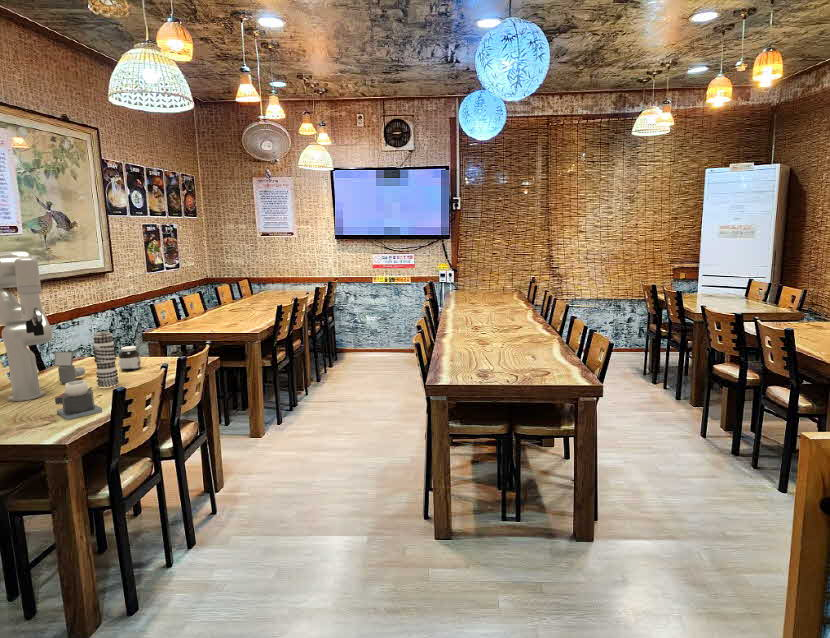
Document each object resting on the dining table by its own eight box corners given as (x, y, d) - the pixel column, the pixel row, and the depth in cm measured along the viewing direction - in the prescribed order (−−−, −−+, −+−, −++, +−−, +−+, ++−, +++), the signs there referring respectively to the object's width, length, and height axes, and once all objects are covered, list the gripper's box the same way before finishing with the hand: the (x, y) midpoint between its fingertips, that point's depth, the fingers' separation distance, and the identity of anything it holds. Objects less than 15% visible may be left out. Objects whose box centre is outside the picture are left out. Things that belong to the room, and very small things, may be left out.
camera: (90, 377, 268) (86, 347, 265) (73, 384, 256) (69, 352, 254) (73, 377, 269) (69, 347, 266) (55, 384, 257) (51, 352, 255)
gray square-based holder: (57, 413, 214) (54, 394, 213) (90, 405, 223) (88, 387, 222) (67, 420, 206) (65, 400, 205) (102, 411, 215) (100, 393, 214)
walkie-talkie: (77, 404, 227) (94, 390, 246) (75, 393, 226) (93, 381, 246) (53, 406, 225) (72, 392, 245) (51, 395, 224) (71, 382, 244)
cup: (64, 402, 214) (62, 382, 212) (85, 397, 219) (83, 378, 218) (71, 405, 209) (68, 385, 208) (91, 401, 214) (89, 381, 213)
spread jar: (132, 372, 277) (130, 349, 275) (111, 372, 278) (108, 349, 276) (145, 366, 288) (143, 344, 287) (125, 366, 289) (122, 344, 287)
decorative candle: (123, 383, 256) (118, 330, 252) (112, 388, 247) (106, 333, 243) (104, 383, 257) (98, 330, 253) (92, 389, 247) (86, 334, 243)
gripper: (11, 289, 216) (17, 333, 219) (24, 292, 205) (30, 338, 207) (34, 288, 222) (39, 330, 224) (47, 290, 210) (53, 334, 213)
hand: (35, 333), depth 216 cm, fingers open, 9 cm apart
